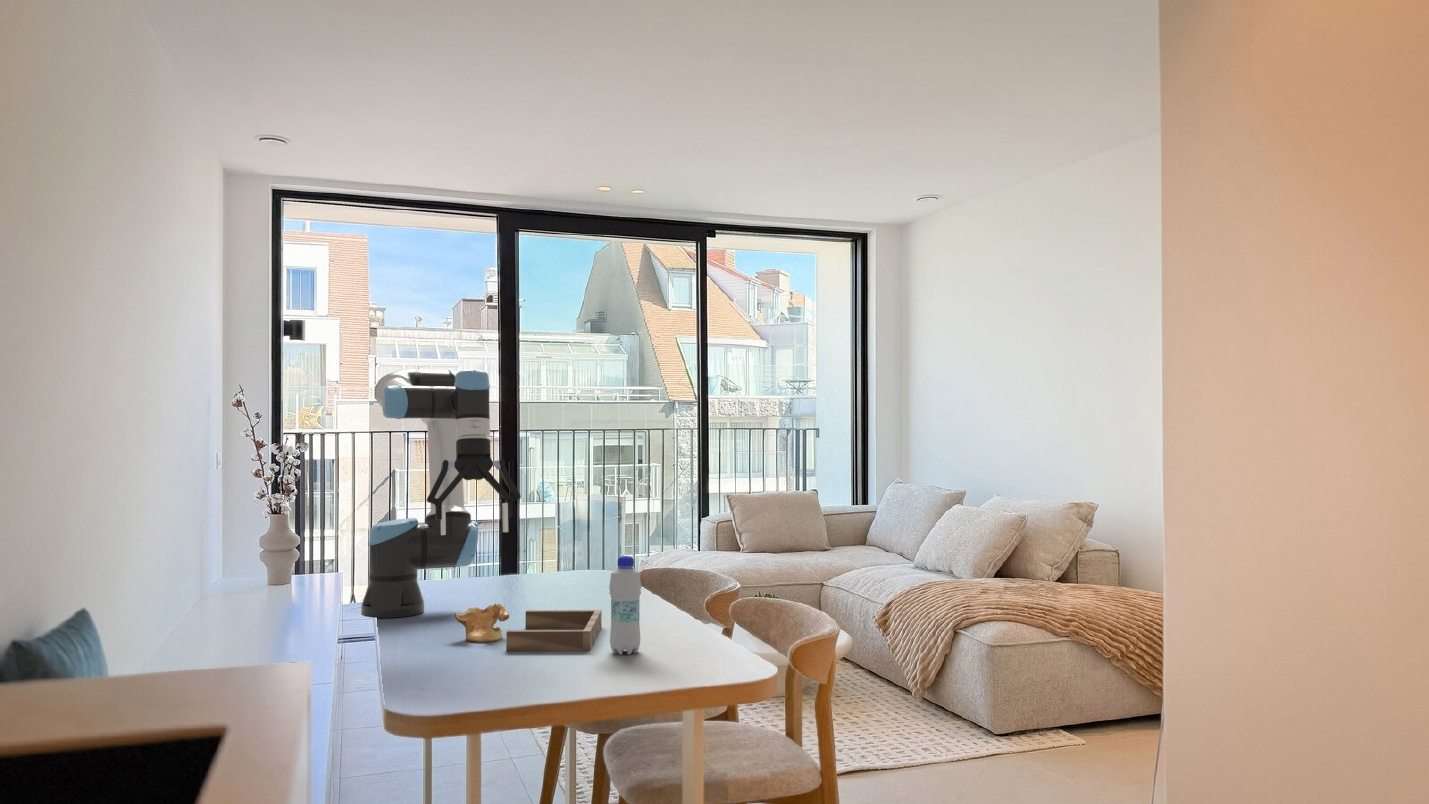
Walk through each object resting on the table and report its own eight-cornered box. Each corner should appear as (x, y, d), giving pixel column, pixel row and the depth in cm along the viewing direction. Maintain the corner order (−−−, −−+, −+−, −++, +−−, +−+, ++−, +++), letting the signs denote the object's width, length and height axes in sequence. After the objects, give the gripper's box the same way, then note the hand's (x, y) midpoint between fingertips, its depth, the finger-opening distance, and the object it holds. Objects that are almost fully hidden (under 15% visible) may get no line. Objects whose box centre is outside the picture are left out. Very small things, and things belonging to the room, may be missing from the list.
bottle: (646, 650, 205) (646, 554, 206) (633, 657, 199) (633, 558, 200) (617, 647, 208) (617, 553, 208) (603, 654, 201) (603, 557, 202)
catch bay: (526, 627, 229) (526, 610, 229) (601, 627, 229) (601, 610, 229) (506, 650, 205) (506, 631, 205) (590, 650, 205) (590, 631, 205)
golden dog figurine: (504, 632, 223) (505, 595, 224) (516, 641, 215) (516, 602, 215) (451, 637, 218) (451, 600, 218) (460, 646, 209) (460, 607, 210)
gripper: (417, 437, 213) (418, 535, 210) (531, 436, 222) (534, 530, 219) (414, 441, 219) (414, 536, 216) (525, 440, 229) (527, 531, 226)
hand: (474, 533), depth 218 cm, fingers open, 13 cm apart
